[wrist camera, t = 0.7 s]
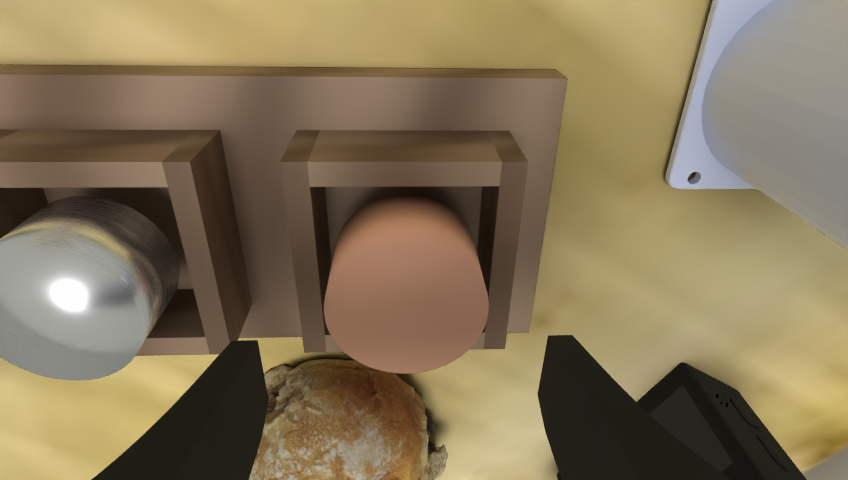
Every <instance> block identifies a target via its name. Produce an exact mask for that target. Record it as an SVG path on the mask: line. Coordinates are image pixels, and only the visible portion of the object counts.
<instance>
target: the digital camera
mask: <svg viewBox="0 0 848 480" xmlns="http://www.w3.org/2000/svg"><path fill="white" fill-rule="evenodd" d="M688 367H689V368H688ZM690 370H691V371H692V372H691V371H690ZM693 374H694V375H693ZM702 387H703V388H702ZM704 390H705V391H704ZM717 394H718V395H719V396H718V399H717V398H716V395H717ZM709 397H710V398H709ZM711 400H712V401H713V402H712V401H711ZM637 403H638V404H639V405H640V406H641V407H642V408H643V409H644V410H645V411H646V412H647V413H648V414H650V415H651V416H652V417H653V418H654V419H655V420H656V421H657V422H658V423H660V424H661V425H662V426H663V427H664V428H665V429H666V430H667V431H669V432H670V433H671V434H672V435H673V436H675V437H676V438H677V439H678V440H679V441H681V442H682V443H683V444H685V445H686V446H687V447H688V448H690V449H691V450H692V451H693V452H695V453H696V454H697V455H698V456H700V457H701V458H702V459H704V460H705V461H706V462H708V463H709V464H710V465H712V466H713V467H714V468H716V469H717V470H719V471H720V472H721V473H723V474H724V475H726V476H727V477H729V478H730V479H731V480H806V479H805V477H804V476H803V474H802V473H801V472H800V471H799V469H798V468H797V467H796V465H795V464H794V463H793V462H792V460H791V459H790V458H789V456H788V455H787V454H786V452H785V451H784V450H783V449H782V447H781V446H780V445H779V443H778V442H777V441H776V440H775V438H774V437H773V436H772V434H771V433H770V432H769V431H768V429H767V428H766V427H765V425H764V424H763V423H762V422H761V420H760V419H759V418H758V416H757V415H756V414H755V413H754V411H753V410H752V409H751V407H750V406H749V405H748V404H747V402H746V401H745V400H744V398H743V397H742V396H741V395H740V393H739V392H738V391H737V390H736V389H734V388H732V387H730V386H728V385H726V384H724V383H722V382H720V381H718V380H716V379H715V378H713V377H711V376H709V375H707V374H705V373H703V372H701V371H699V370H697V369H695V368H694V367H692V366H690V365H688V364H686V363H681V364H680V365H679V366H678V367H676V368H675V369H674V370H673V371H672V372H671V373H670V374H668V375H667V376H666V377H665V378H664V379H663V380H662V381H661V382H659V383H658V384H657V385H656V386H655V387H654V388H653V389H652V390H650V391H649V392H648V393H647V394H646V395H645V396H644V397H643V398H642V399H640V400H639V401H638V402H637ZM557 477H558V480H562V479H561V476H560V473H558V474H557Z"/></svg>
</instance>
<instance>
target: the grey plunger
mask: <svg viewBox="0 0 848 480" xmlns="http://www.w3.org/2000/svg"><path fill="white" fill-rule="evenodd" d="M179 279H180V267H179V262H178V258H177V255H176V253H175V251H174V249H173V246H172V245H171V243H170V242H169V240H168V239H167V237H166V236H165V235H164V233H163V232H162V231H161V230H160V229H159V228H158V227H157V226H156V225H155V224H154V223H153V222H152V221H150V220H149V219H148V218H146V217H145V216H144V215H142V214H140V213H139V212H137V211H136V210H134V209H132V208H130V207H128V206H126V205H123V204H121V203H118V202H115V201H112V200H109V199H105V198H100V197H94V196H71V197H66V198H61V199H58V200H55V201H53V202H51V203H49V204H47V205H45V206H44V207H42V208H41V209H40V210H38V211H37V212H36V213H34V214H33V215H32V216H30V217H29V218H28V219H26V220H25V221H24V222H22V223H21V224H20V225H18V226H17V227H16V228H14V229H13V230H12V231H10V232H9V233H7V234H6V235H5V236H3V237H2V238H1V239H0V357H1V358H2V359H4V360H6V361H8V362H9V363H11V364H13V365H15V366H17V367H19V368H22V369H24V370H26V371H29V372H32V373H35V374H38V375H42V376H45V377H50V378H55V379H62V380H91V379H97V378H101V377H105V376H108V375H111V374H113V373H115V372H117V371H119V370H120V369H122V368H124V367H125V366H126V365H127V364H128V363H130V362H131V360H132V359H133V358H134V357H135V355H136V354H137V352H138V351H139V349H140V348H141V346H142V344H143V343H144V341H145V340H146V338H147V337H148V335H149V333H150V332H151V330H152V329H153V327H154V326H155V324H156V322H157V321H158V319H159V318H160V316H161V314H162V313H163V311H164V310H165V308H166V307H167V305H168V303H169V302H170V300H171V299H172V297H173V295H174V294H175V292H176V290H177V287H178V284H179Z"/></svg>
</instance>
